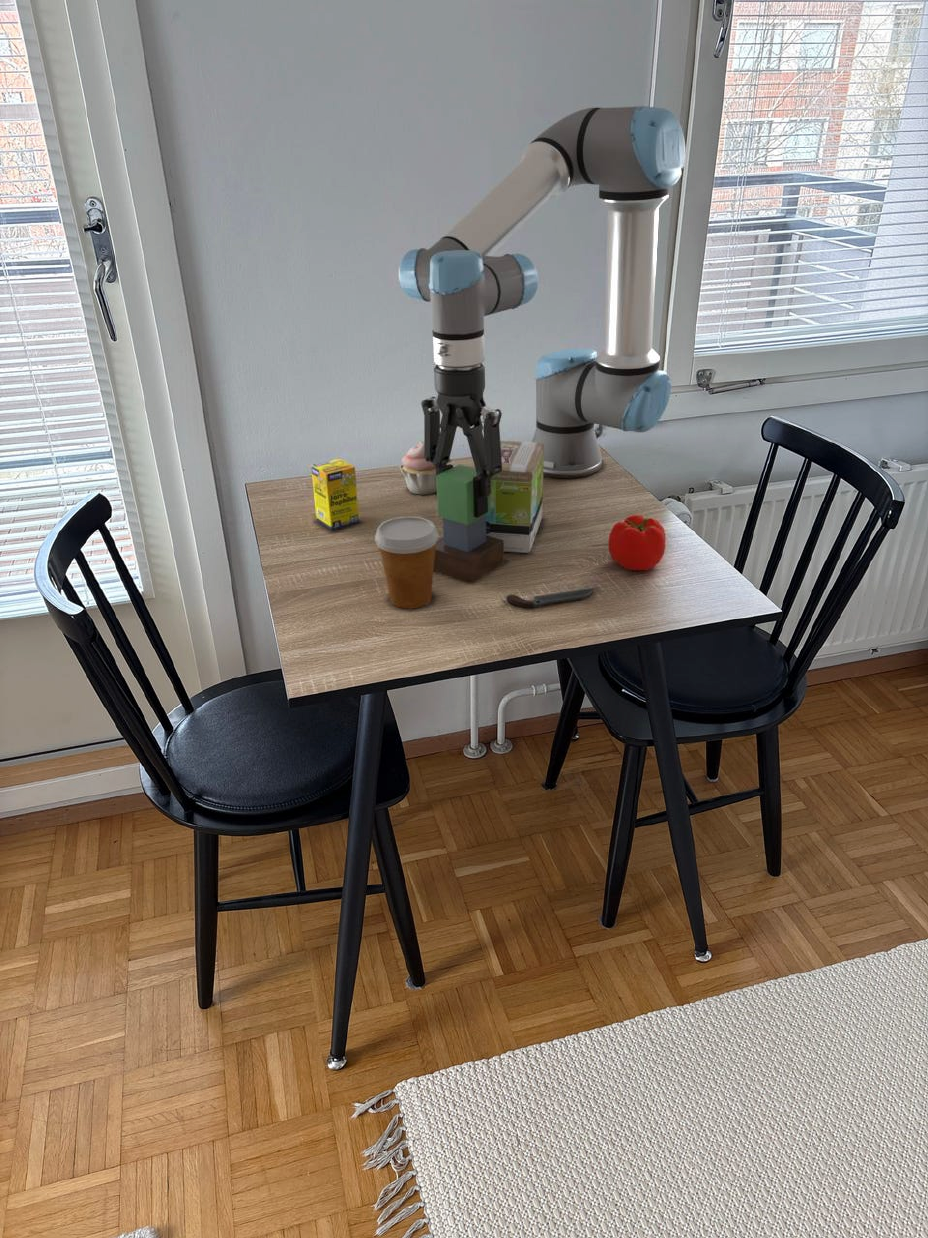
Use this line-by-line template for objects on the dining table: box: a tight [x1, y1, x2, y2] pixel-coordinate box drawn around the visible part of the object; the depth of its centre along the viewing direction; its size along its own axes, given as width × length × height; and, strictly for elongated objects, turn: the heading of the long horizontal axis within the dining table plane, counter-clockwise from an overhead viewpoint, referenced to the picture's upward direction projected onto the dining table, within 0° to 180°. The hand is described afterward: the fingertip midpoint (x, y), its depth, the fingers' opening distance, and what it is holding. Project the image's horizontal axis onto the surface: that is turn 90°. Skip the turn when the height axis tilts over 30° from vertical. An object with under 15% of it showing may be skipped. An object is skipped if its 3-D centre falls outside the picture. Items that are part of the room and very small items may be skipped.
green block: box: [436, 463, 490, 525], centre depth 147 cm, size 6×6×7 cm
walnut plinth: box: [433, 535, 505, 584], centre depth 152 cm, size 9×9×4 cm
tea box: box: [486, 440, 544, 554], centre depth 159 cm, size 15×10×15 cm, turn 168°
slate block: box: [441, 515, 486, 552], centre depth 150 cm, size 5×5×5 cm
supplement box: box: [310, 458, 360, 532], centre depth 167 cm, size 6×6×11 cm
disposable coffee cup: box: [374, 515, 439, 609], centre depth 141 cm, size 10×10×12 cm
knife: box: [506, 586, 596, 608], centre depth 142 cm, size 14×4×1 cm, turn 104°
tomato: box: [607, 514, 667, 571], centre depth 150 cm, size 9×9×8 cm
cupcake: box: [398, 439, 437, 496], centre depth 180 cm, size 9×9×10 cm
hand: (464, 509), depth 148 cm, fingers closed on green block, 6 cm apart
